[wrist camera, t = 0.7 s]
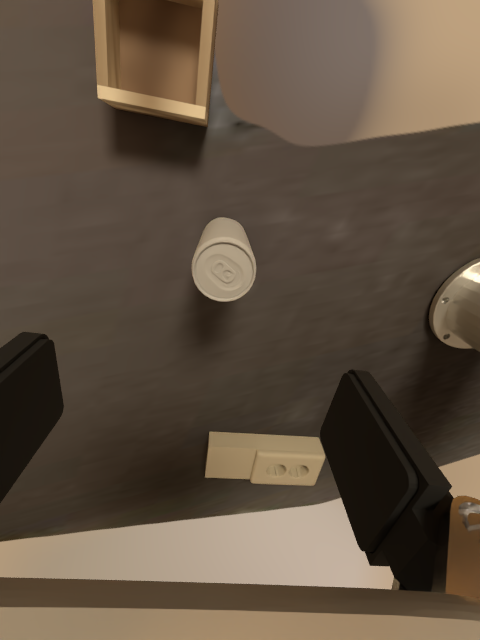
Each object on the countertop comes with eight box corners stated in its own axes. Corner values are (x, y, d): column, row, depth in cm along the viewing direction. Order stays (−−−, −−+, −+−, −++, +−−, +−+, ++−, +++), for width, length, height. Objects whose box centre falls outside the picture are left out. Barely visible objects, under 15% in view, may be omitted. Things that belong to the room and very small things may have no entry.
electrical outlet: (208, 452, 41) (326, 457, 43) (209, 429, 44) (318, 435, 46) (204, 483, 44) (315, 487, 46) (206, 459, 48) (308, 464, 50)
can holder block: (218, 5, 22) (217, -27, 19) (207, 126, 26) (204, 119, 23) (111, -22, 22) (89, -61, 18) (115, 109, 25) (97, 97, 22)
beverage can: (226, 269, 32) (227, 315, 22) (193, 241, 31) (176, 276, 20) (255, 237, 31) (271, 269, 20) (221, 206, 29) (219, 223, 19)
